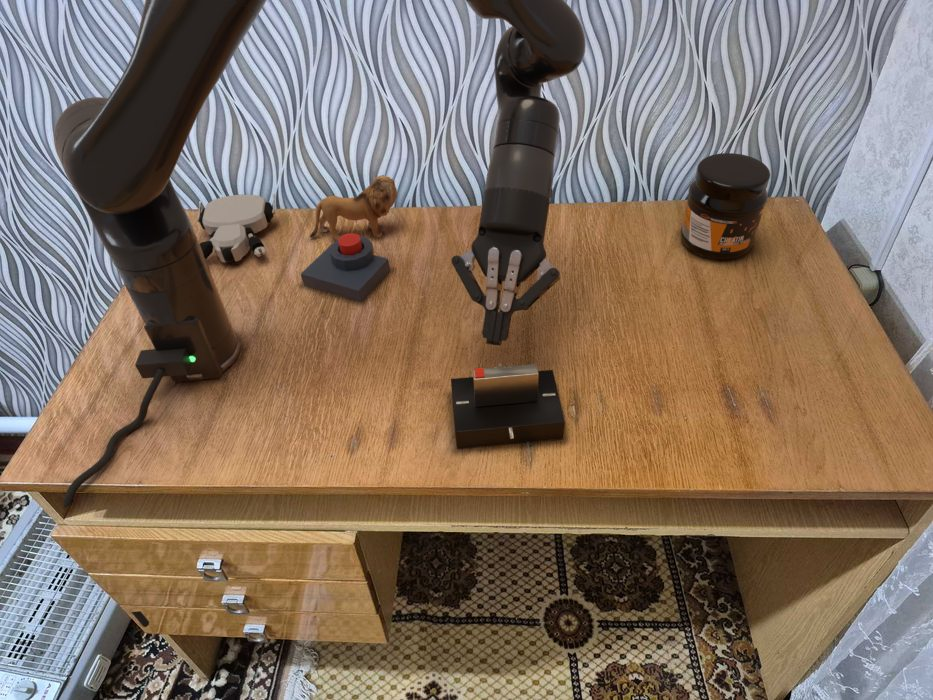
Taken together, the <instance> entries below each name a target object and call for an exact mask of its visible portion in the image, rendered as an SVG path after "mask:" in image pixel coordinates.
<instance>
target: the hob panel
mask: <svg viewBox="0 0 933 700" xmlns="http://www.w3.org/2000/svg"><path fill="white" fill-rule="evenodd" d="M498 367H503V363H498ZM538 373H539V377H538V401H536V402H525V403H514V404H503V405H492V406H481V407H476V406H475V398H474V384H473V376H468V377H467V376H465V377H457V378H456V377H455V378H451V379H450V385H451V387H450V388H451V398H452V411H453V412H452V413H453V424H454V435H455V436H454V437H455V446H456V449H457V450H458V449H470V448H480V447H490V446H491V447H493V446H502V445H503V446H504V445H513V444H515V445H516V444H523V443H534V442H544V441H555V440H556V441H557V440H558V441H559V440H564V438H565V427H566V420H565V416H564V412H563V407H562V403H561V400H560V395H559V390H558V386H557V382H556V377H555V374H554V369H545V370H544V369H543V370H538Z"/></svg>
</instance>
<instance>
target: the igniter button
mask: <svg viewBox="0 0 933 700" xmlns="http://www.w3.org/2000/svg"><path fill="white" fill-rule="evenodd" d="M360 236H361V235H359V234H357V233H352V232H351V233H349V232H348V233H345V234H342V236H341V237H340V238H339V240H338V243H339V247H340V252H341V253H342V254H343V255H346V256H348V255H355V254H357V253H360V252H361V251H362V244H361V238H360Z"/></svg>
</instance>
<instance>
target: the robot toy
mask: <svg viewBox="0 0 933 700" xmlns="http://www.w3.org/2000/svg"><path fill="white" fill-rule="evenodd" d="M272 199H273V200H272V204H271V202H268V201H267V199H266V198H265V197H263V196H260V195H256V194H233V195H227V196H223V197H218V198H215V199H213V200H211V201H210V202H208V203H206V204H205V207H204V208H202V204H203V203H202V201H201V200H199V201H198V215H197V218H196V221H197V223H199V224H200V227H201V229H202V230H205V232H206V233H207V234H208V235H209V236H210V237H209V239H208V240H206V241H205V240H204V241H201V242H199V245H200V247H201V250H202V252H203V255H204V257H205V260H207V259H208V258H209V257H210V256H211V255H212V254H213V252H214V251H215V254H216V256H217V257H218V258H219V260H220V262H221V263H224V264H226V263H231V262H234V261H235V263H236V262H239V261H241V260H242V259H243V257H246V256H247V254H248V253H249V251H250V250H251V251H252V252H253V254H254V255H255V256H256V257H262V255H263V256H265V255H266V254H267V248H266V247H265V245H264V243H263V242H262V240H261V239H260V238H259V236H258V235H257V236H256V235H255V234H257V233H260V232H261V231H263V230H264V229H266V228H268V225H269V224H270V223H271V222H272V220H273V218H274V216H275V215H276V211H277V210H276V194H275V192H273V194H272ZM272 205H273V206H272Z"/></svg>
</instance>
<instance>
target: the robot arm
mask: <svg viewBox="0 0 933 700" xmlns="http://www.w3.org/2000/svg"><path fill="white" fill-rule="evenodd" d="M267 1H268V0H145V1H144V5H143V10H142V14H141V19H140V22H139V27H138V32H137V36H136V40H135V43H134V47H133V51H132V54H131V57H130V59H129V60H128V63H127V65H126V68H125V69H124V71H123V73H122V75H121V77H120V78H119V80H118V81H117V83H116V85H115V87H113V90H112V91H111V93H110V95H109V96H108V97H102V96H95V97H87V98H83V99H80V100H77V101H75V102H73V103H71V104H70V105H69V106H67V107H66V108H65V109H64V110H63V112H61V113H60V116H59V117H58V119H57V120H56V123H55V126H54V131H53V143H54V149H55V152H56V155H57V157H58V160H59V162H60V164H61V166H62V169H63V171H64V173H65V176H66V178H67V180H68V182H69V183H70V185H71V187H72V188H73V190H75V192H76V194H77V195H78V197H79V199H80V202H81V203H82V205H83V207H84V209H85V211H86V213H87V216H88V217H89V219H90V221H91V223H92V225H93V228H94V229H95V231H96V233H97V235H98V238H99V239H100V241H101V244H102V246H103V247H104V249H105V250H106V253H107V254H108V256H109V258H110V260H111V262H112V264H113V265H114V267H115V270H116V271H117V273H118V275H119V277H120V279H121V280H122V282H123V284H124V287H125V288H126V291H127V292H128V294H129V296H130V298H131V300H132V302H133V304H134V306H135V308H136V309H137V311H138V313H139V315H140V317H141V319H142V321H143V323H144V326H143V328H144V331H145V332H146V335H147V336H148V339H149V340H150V342H151V344H152V346H153V348H151V349H142V350H140V352H139V354H138V357H137V359H136V362H135V363H134V366H135V368H136V370H137V372H138V373H139V375H140V377H141V378H142V379H152V380H151V382H150V383H149V385H148V388H147V390H146V392H145V394H144V397H143V399H142V401H141V402H140V406H139V409H138V410H139V411H138V415H137V416H136V418H135V419H134V420H133V421H132V422H130V423H129V424H127V425H125V426H124V427H122V428H119V430H117V431H116V432H115V433H114V434H113V435H112V436H110V439H109V440H108V442H107V445H106V448H105V451H104V453H103V454H102V456H101V458H99V459H98V461H97V462H95V464H93V465H91V467H89V468H88V469H86V470H85V471H84V472H82V473H81V474H80V475H78V476H77V477H76V478H75V479H74V480H73V481H72V483H71V484H70V485H69V487H68V488H67V490H66V492H65V494H64V498H63V503H62V505H63V508H64V509H66V508H69V507H70V506H71V505H72V504H73V502H74V500H75V499H74V498H75V496H76V493H77V492H78V490H79V489H80V487H81V486H82V485H83V484H84V483H86V481H88V480H89V479H90V478H92V477H93V476H94V475H96V474H97V473H99V472H100V471H101V470H102V469H103V468H105V466H106V465H108V463H109V462H110V461H111V459H112V458H113V456H114V453H115V449H116V447H117V444H118V442H119V441H120V440H121V439H122V438H123V437H124V436H126V435H127V434H129V433H131V432H133V431H135V430H137V428H139V427H140V426H141V425H142V423H143V422H144V421H145V419H146V417H147V415H148V411H149V406H150V404H151V402H152V399H153V398H154V395H155V393H156V391H157V389H158V387H159V385H160V383H161V381H162V379H163V378H164V377H165V378H166V377H169V378H170V380H171V382H172V383H178V382H190V381H201V380H211V379H220V378H222V375H223V372H224V371H225V370H227V369H229V368H230V367H231V365H233V364H234V363H235V361H236V360H237V358H238V357H239V355H240V352H241V342H240V340H239V337H238V335H237V334H236V332H235V330H234V326H233V324H232V321H231V319H230V317H229V315H228V312H227V309H226V307H225V305H224V302H223V300H222V297H221V295H220V292H219V290H218V287H217V285H216V282H215V280H214V278H213V275H212V273H211V270H210V267H209V265H208V262H207V259H205V257H204V255H203V252H202V250H201V247H200V245H199V244H200V242H199V240H198V237H197V235H196V232H195V230H194V227H193V225H192V222H191V220H190V217H189V215H188V213H187V211H186V209H185V207H184V205H183V204H182V201H181V200H180V197H179V196H178V194H177V191H176V189H175V187H174V185H173V183H172V181H171V177H172V175H173V172H174V171H175V169H176V166H177V164H178V161H179V159H180V156H181V155H182V152H183V149H184V147H185V145H186V143H187V140H188V138H189V136H190V133H191V131H192V129H193V127H194V124H195V122H196V121H197V118H198V116H199V114H200V112H201V110H202V108H203V107H204V104H205V102H206V101H207V99H208V97H209V96H210V95H211V93H212V91H213V89H214V88H215V87H216V85H217V83H218V81H220V79H221V77H222V75H223V73H224V72H225V70H226V68H227V67H228V66H229V63H230V62H231V60H232V58H233V57H234V55H235V53H236V52H237V50H238V48H239V46H240V45H241V43H242V41H243V40H244V39H245V37H246V35H247V33H248V32H249V30H250V29H251V27H252V26H253V24H254V23H255V21H256V19H258V16H259V14H260V13H261V11H262V9H263V7H264V6H265V4H266V2H267ZM465 2H466V4H467V5H468V6H469V8H470V9H471V10H472V11H473V12H474V14H475V15H476V16H477V17H479V18H481V19H483V20H502V21H505V22H506V23H508V24H509V25H510V27H508V28H507V29H506V30H505V32H504V33H503V34H502V36H501V37H500V40H499V42H498V44H497V47H496V50H495V55H494V79H495V92H496V93H495V94H496V102H497V110H498V118H497V123H496V127H495V128H496V129H495V135H494V142H493V149H492V154H491V158H490V161H489V164H488V167H487V171H486V172H487V173H486V179H485V186H484V192H483V198H482V205H481V212H480V217H479V225H478V231H477V235H476V238H474V240H473V241H472V243H471V248H470V249H469V250H467V251H466V252H464V253H463V254H460V255H458V254H457V255H454V256H452V258H451V261H450V262H451V264H452V266H453V268H454V270H455V272H456V273H457V275H458V278H459V279H460V281H461V282H462V284H463V286H464V288H465V290H466V292H467V293H468V295H469V297H470V299H471V300H472V301H473V302H474V303H475V304H478V305H480V306H482V307H483V309H484V318H483V325H482V331H481V335H482V338H484V339H486V340H485V342H486V343H485V344H487V345H493V346H500V347H502V345H503V342H507V341H508V339H509V337H510V329H511V324H512V317H513V315H514V314H515V313H516V312H520V311H528V310H529V309H530V308H531V307H532V306H533V305H534V304H535V303H537V302H538V300H540V298H542V296H543V295H545V294H546V293H547V292H548V291H549V290H550V289H552V287H553V286H554V285H555V284H556V283H557V282H558V281H559V280H560V279H561V277H562V276H561V273H560V270H559V269H558V268H556V267H554V266H553V265H552V264H551V263H550V262H549V260H547V259H546V258H547V251H546V249H545V244H544V243H545V237H546V236H545V235H546V229H547V223H548V217H549V210H550V203H551V198H552V196H553V185H554V184H553V183H554V177H555V176H554V175H555V174H554V172H555V171H554V170H555V167H554V165H555V157H556V150H557V145H558V144H557V143H558V137H559V130H560V121H561V117H560V110H559V109H558V107H557V105H556V104H555V103H554V102H553V101H551V100H549V99H547V98H544V97H541V95H542V94H541V93H542V86H543V84H545V83H548V82H551V81H554V80H557V79H560V78H562V77H565V76H568V75H570V74H572V73H574V72H575V71H576V70H577V69H578V68H579V67H580V66H581V64H582V62H583V60H584V57H585V54H586V45H587V44H586V36H585V31H584V28H583V26H582V23H581V21H580V19H579V18H578V15H577V14H576V13H575V11H574V10H573V8H571V6H570V5H569V4H568V3H567V2H566V1H565V0H465ZM475 261H476V262H477V264H478V266H479V268H480V270H481V271H482V272H481V273H482V274H483V276H484V277H485V278H486V283H485V287H486V293H484V291H483V290H482V287H481V286H480V284H479V283H478V282H479V281H477V279H476V277H475V275H474V273H473V272H474V270H475V268H476V265H475ZM538 269H539V270H538ZM536 270H538V271H537V273H536V274H537V275H536V277H537V280H536V282H534V283H533V284H532V285H531V286H530V287H529V288H528V289H527V290H526V291H525V292H524V293H523V294H522V295H521V296H520V297H519V298H518V295H519V294H520V289H521V284H522V283H524V282H526V281H527V280H528V279H529V278H530V277H531V276H532V275H533V273H535V272H536ZM503 283H504V284H503ZM130 613H131V614H132V615H133V616H134V618H135V619H136V620H137V621H138V622H139V624H140V625H141V627H143V628H147V627H148V626H149V625H150V621H149V619H148V618H147V617H146V616H145V615H144V613H143V612H142V611H140V610H139V611H131V612H130Z"/></svg>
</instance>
